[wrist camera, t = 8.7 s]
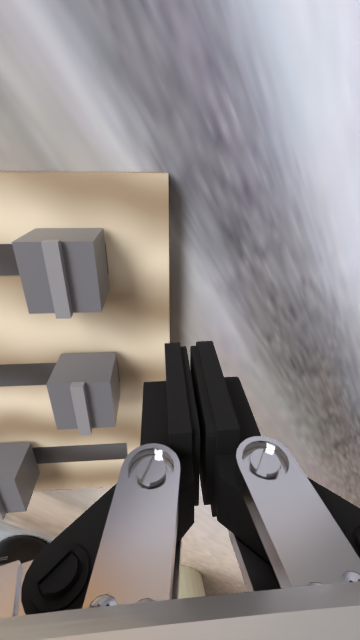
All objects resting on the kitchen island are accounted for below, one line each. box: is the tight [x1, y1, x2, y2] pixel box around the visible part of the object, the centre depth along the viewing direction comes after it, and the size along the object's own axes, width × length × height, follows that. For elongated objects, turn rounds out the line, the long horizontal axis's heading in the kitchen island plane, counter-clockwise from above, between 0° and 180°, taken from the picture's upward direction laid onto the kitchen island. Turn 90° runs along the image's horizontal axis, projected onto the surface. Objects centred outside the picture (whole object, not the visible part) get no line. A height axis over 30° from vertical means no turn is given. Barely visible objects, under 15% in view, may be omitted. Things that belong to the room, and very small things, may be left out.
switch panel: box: [0, 171, 170, 491], centre depth 24 cm, size 28×20×2 cm
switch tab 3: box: [46, 352, 120, 435], centre depth 22 cm, size 4×4×4 cm
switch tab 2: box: [12, 228, 110, 319], centre depth 18 cm, size 4×4×4 cm
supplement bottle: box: [0, 536, 48, 566], centre depth 33 cm, size 7×7×12 cm
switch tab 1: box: [0, 442, 40, 520], centre depth 26 cm, size 4×4×4 cm
